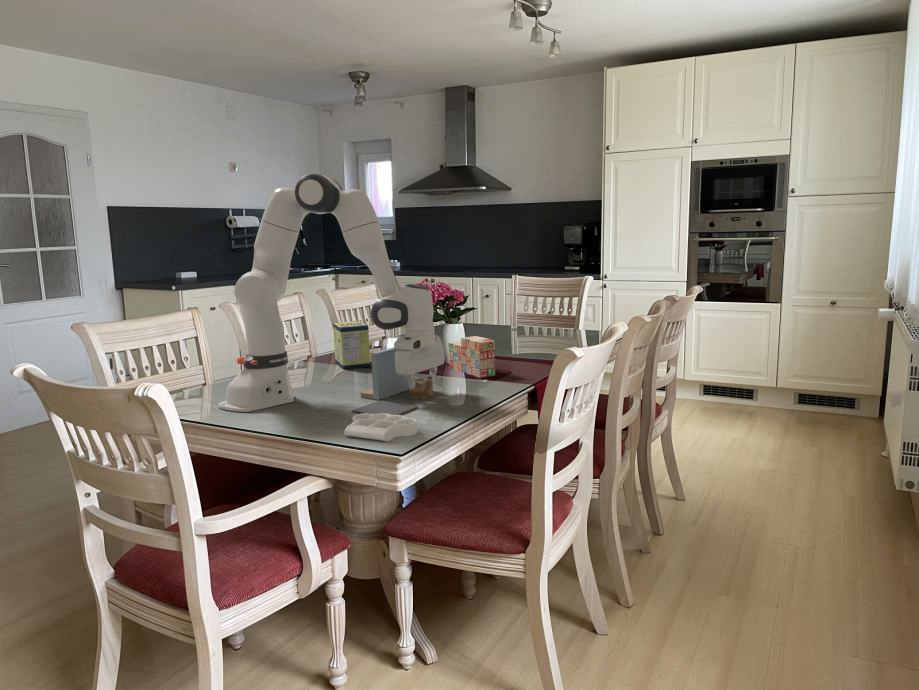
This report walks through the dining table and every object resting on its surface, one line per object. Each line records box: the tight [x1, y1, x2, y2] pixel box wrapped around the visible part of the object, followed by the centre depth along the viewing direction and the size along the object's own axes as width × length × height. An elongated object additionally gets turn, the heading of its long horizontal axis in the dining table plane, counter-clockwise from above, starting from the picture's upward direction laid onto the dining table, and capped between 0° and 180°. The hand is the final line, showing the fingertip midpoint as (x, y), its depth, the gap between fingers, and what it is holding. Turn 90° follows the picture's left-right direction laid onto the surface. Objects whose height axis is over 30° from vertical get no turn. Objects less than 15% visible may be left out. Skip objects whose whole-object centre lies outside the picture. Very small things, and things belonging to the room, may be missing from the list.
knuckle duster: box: [344, 413, 419, 442], centre depth 168 cm, size 3×18×15 cm
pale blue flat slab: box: [360, 347, 416, 401], centre depth 207 cm, size 18×7×14 cm, turn 147°
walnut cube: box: [408, 377, 434, 400], centre depth 201 cm, size 5×5×5 cm
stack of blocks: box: [448, 335, 496, 379], centre depth 234 cm, size 21×6×12 cm, turn 30°
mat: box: [351, 400, 419, 416], centre depth 187 cm, size 12×14×1 cm
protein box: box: [332, 320, 371, 370], centre depth 252 cm, size 10×16×16 cm
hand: (422, 384), depth 201 cm, fingers open, 8 cm apart
